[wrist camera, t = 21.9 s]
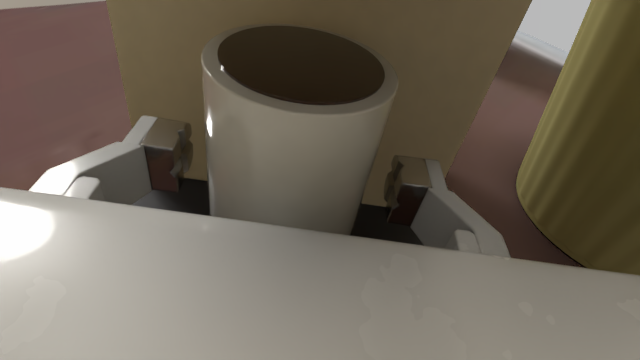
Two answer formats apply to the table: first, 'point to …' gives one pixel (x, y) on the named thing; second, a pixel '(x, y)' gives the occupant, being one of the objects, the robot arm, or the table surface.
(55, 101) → the table surface
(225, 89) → the coffee cup
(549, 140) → the potted cactus
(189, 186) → the coffee maker
